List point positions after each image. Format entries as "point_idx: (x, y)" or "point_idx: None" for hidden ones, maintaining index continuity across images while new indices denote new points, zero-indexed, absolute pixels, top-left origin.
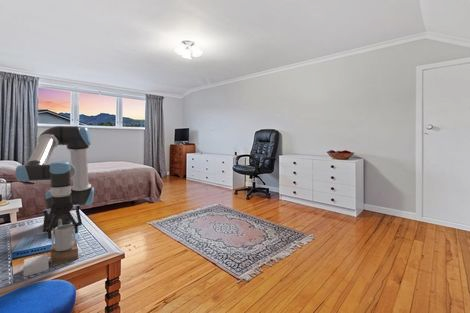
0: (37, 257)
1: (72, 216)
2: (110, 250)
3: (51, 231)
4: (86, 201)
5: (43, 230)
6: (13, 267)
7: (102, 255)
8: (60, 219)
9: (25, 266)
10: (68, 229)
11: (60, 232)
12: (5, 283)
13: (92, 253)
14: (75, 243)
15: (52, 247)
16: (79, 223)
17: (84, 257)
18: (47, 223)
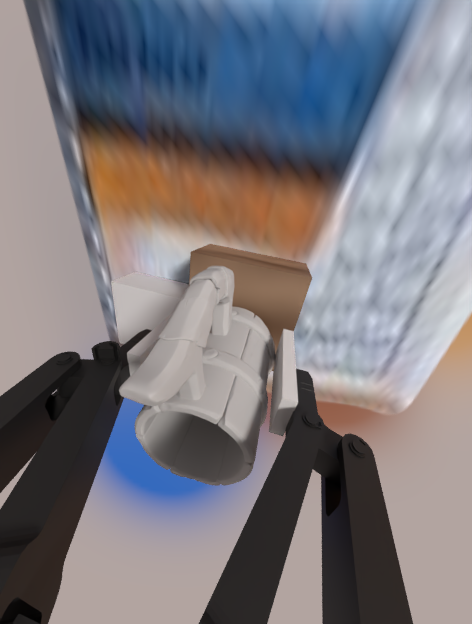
0: (150, 303)
1: (283, 562)
2: (397, 376)
3: (131, 373)
4: None
5: (65, 395)
6: (102, 233)
7: (348, 385)
8: (147, 402)
9: (124, 343)
10: (221, 471)
11: (178, 447)
12: (107, 326)
13: (336, 344)
14: (296, 311)
15: (198, 270)
16: (326, 482)
17: (299, 351)
18: None
